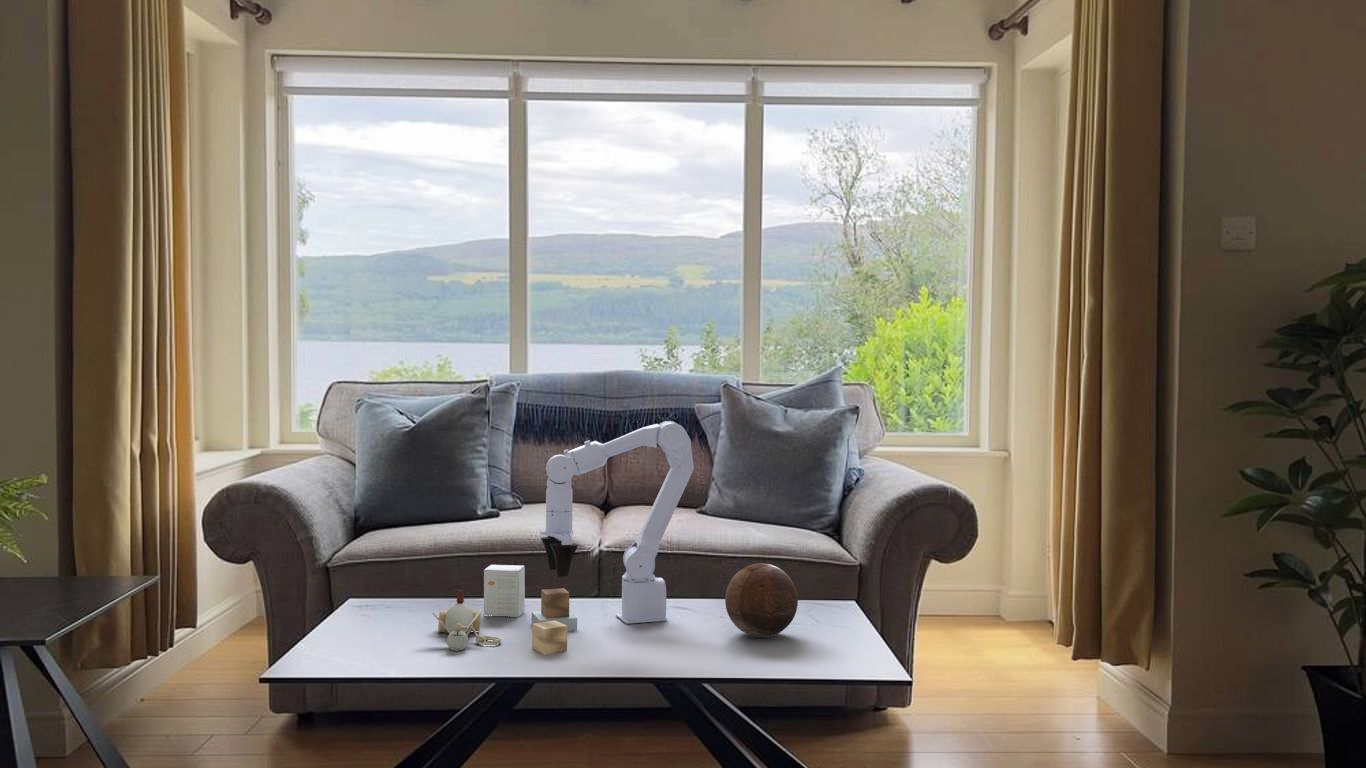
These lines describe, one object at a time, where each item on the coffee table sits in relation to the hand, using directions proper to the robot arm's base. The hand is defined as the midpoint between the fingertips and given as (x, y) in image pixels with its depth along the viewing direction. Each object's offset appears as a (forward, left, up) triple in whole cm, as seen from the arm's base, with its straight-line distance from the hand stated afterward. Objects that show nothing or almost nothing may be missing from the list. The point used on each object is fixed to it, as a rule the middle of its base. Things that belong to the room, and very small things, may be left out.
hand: (558, 572), depth 230 cm
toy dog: (+22, +9, -11) cm, 26 cm away
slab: (+2, +5, -11) cm, 12 cm away
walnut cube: (+2, +5, -8) cm, 10 cm away
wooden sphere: (-37, +25, -11) cm, 46 cm away
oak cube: (+7, +22, -10) cm, 25 cm away
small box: (+10, -9, -11) cm, 17 cm away
